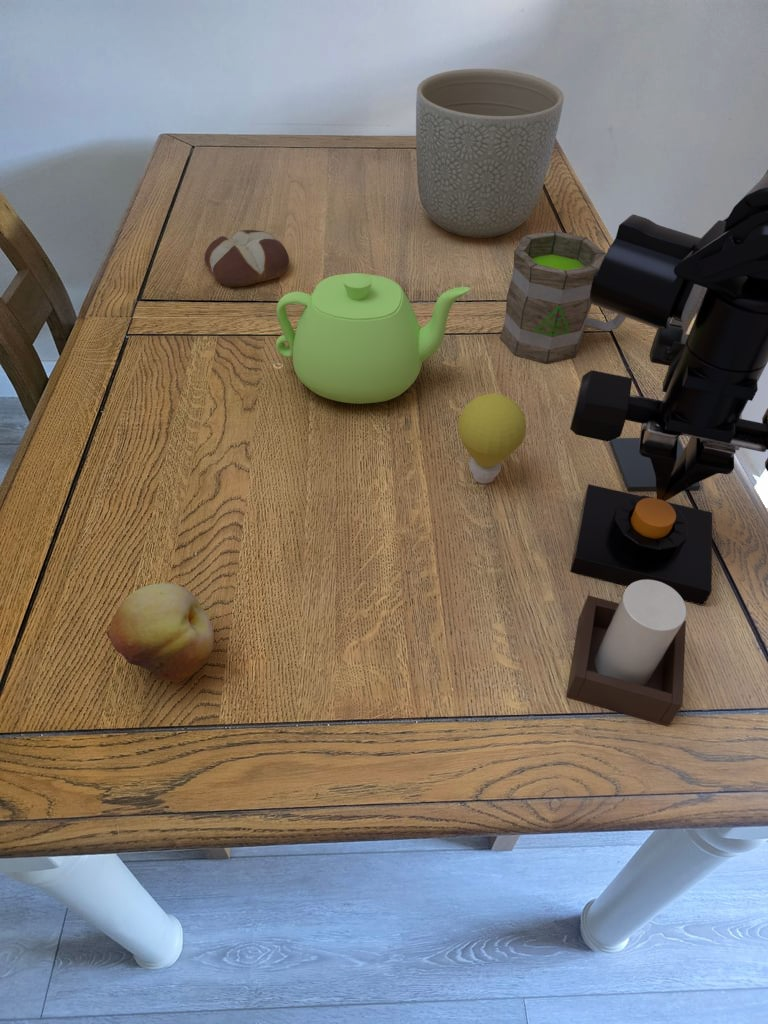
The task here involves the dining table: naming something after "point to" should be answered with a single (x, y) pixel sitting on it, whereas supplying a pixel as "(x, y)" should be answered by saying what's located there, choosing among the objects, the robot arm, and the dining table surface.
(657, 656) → the canister
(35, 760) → the dining table surface
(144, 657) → the fruit
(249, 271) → the bread
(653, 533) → the button
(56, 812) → the dining table surface
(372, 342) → the teapot
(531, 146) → the planter
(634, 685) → the holder
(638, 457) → the mat
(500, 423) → the light bulb
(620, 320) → the mug
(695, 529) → the base
